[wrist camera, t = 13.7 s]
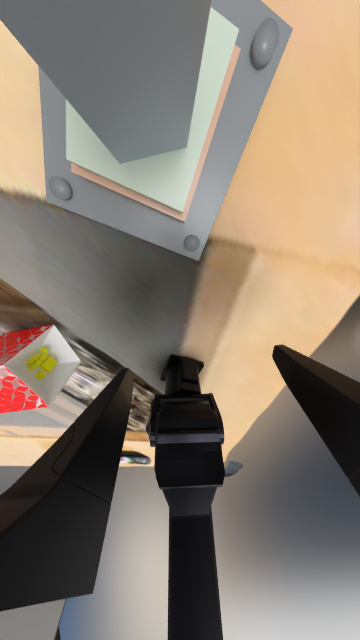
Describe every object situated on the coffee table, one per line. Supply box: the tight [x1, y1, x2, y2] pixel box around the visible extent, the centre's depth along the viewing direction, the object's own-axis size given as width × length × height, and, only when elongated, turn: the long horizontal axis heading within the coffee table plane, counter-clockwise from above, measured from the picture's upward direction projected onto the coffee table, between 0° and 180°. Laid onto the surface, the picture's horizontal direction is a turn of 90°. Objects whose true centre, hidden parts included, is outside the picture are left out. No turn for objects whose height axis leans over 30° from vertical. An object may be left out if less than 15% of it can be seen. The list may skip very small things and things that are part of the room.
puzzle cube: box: [0, 324, 81, 413], centre depth 22 cm, size 8×8×8 cm
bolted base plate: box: [39, 0, 293, 261], centre depth 11 cm, size 16×16×4 cm
